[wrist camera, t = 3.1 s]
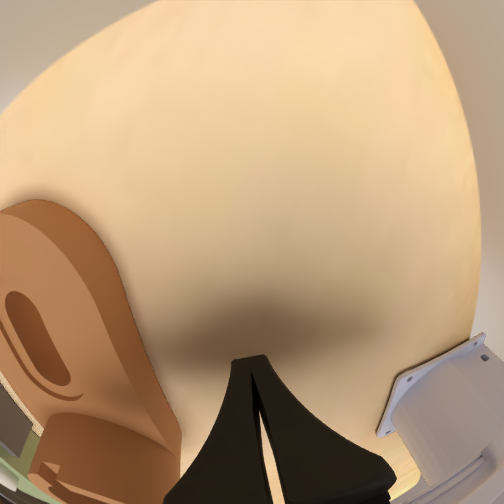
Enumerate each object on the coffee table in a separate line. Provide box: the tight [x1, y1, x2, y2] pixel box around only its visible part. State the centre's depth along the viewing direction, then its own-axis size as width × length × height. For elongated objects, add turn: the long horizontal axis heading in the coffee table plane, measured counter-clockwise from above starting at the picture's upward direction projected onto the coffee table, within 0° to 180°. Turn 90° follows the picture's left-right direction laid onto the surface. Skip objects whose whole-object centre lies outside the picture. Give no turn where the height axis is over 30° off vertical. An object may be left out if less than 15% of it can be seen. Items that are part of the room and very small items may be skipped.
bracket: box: [0, 200, 181, 504], centre depth 8 cm, size 18×8×7 cm, turn 5°
